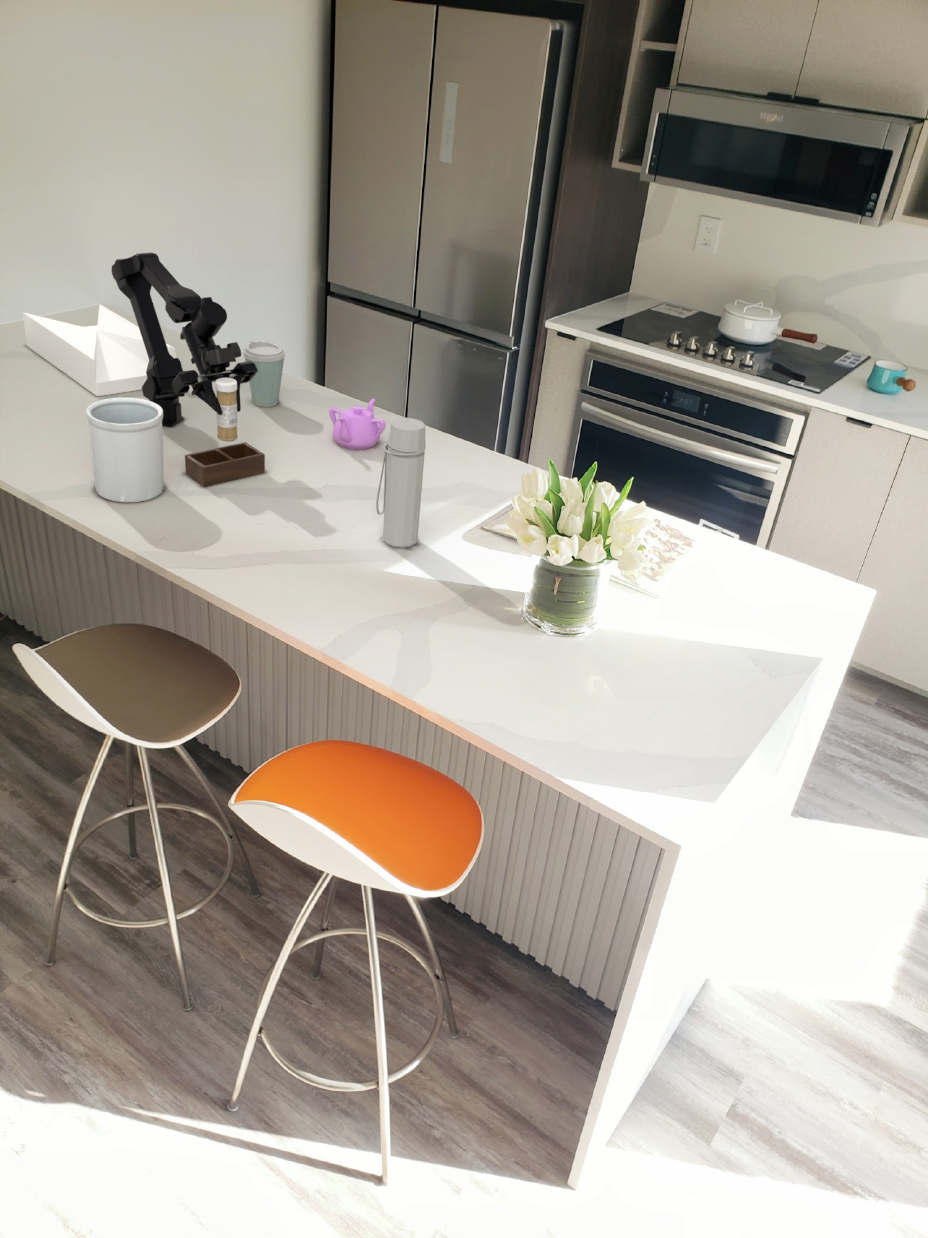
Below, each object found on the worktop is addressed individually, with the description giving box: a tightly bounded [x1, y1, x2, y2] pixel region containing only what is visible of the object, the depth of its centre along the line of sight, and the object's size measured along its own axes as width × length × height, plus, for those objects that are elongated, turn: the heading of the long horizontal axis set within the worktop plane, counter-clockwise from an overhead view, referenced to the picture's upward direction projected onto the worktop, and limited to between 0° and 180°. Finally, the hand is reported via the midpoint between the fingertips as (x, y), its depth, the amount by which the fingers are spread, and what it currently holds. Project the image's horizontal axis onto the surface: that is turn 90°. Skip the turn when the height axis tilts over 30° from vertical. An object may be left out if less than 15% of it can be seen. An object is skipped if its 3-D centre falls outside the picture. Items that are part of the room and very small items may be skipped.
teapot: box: [328, 398, 387, 450], centre depth 245 cm, size 12×14×9 cm
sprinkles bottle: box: [215, 378, 239, 442], centre depth 223 cm, size 5×5×13 cm
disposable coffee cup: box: [242, 340, 286, 408], centre depth 260 cm, size 11×11×15 cm
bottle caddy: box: [184, 441, 266, 488], centre depth 223 cm, size 8×15×4 cm, turn 132°
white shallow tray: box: [22, 304, 177, 397], centre depth 274 cm, size 45×22×10 cm, turn 42°
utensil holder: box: [85, 397, 165, 503], centre depth 208 cm, size 15×15×18 cm
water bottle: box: [375, 417, 427, 549], centre depth 198 cm, size 9×8×25 cm
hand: (230, 412), depth 222 cm, fingers closed on sprinkles bottle, 4 cm apart
